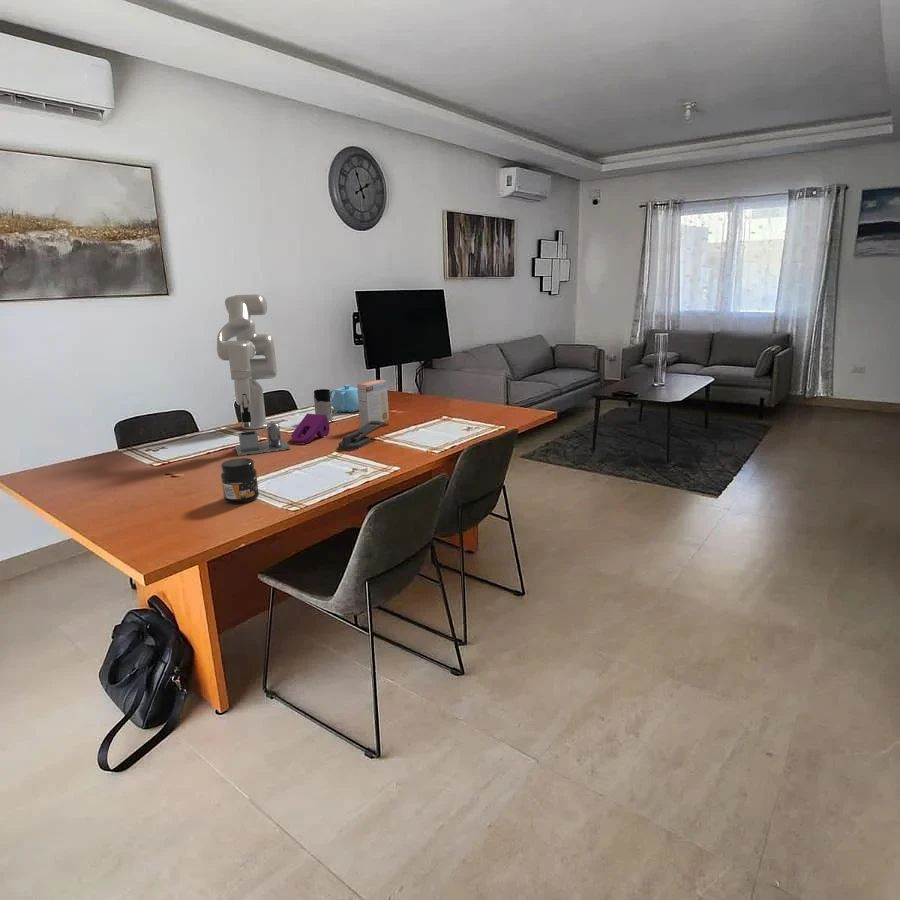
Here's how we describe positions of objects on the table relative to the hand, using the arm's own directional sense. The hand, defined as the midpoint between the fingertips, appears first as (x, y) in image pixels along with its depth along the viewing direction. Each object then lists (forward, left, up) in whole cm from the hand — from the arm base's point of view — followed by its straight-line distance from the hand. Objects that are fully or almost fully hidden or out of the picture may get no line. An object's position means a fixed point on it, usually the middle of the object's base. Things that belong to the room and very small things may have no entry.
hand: (246, 420), depth 237 cm
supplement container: (+57, -8, -13) cm, 59 cm away
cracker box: (-16, +57, -13) cm, 61 cm away
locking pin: (0, 0, -2) cm, 2 cm away
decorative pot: (-57, +55, -13) cm, 80 cm away
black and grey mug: (-38, +41, -13) cm, 58 cm away
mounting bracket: (-8, +25, -13) cm, 30 cm away
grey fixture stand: (0, +5, -12) cm, 13 cm away
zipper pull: (+8, +45, -13) cm, 47 cm away
